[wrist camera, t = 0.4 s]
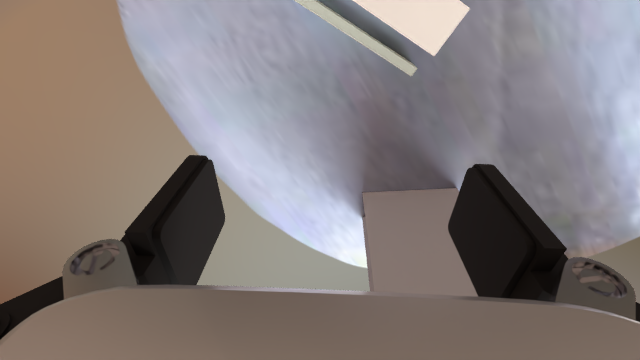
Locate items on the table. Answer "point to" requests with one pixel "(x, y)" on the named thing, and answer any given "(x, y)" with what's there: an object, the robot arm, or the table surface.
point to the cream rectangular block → (419, 19)
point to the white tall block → (413, 243)
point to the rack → (358, 35)
